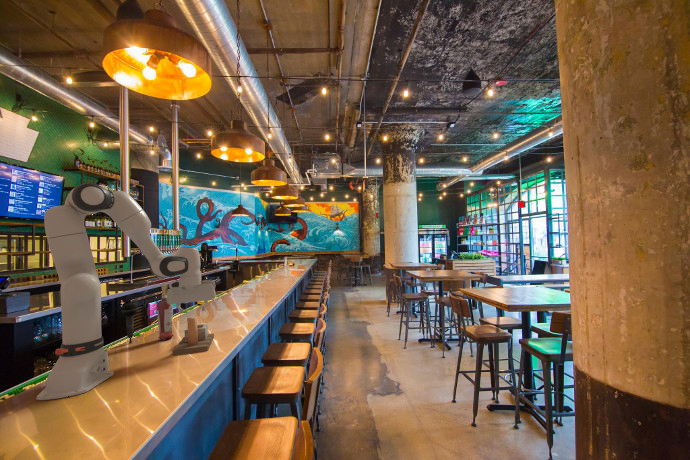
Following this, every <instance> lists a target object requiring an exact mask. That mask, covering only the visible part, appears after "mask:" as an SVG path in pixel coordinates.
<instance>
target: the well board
mask: <svg viewBox="0 0 690 460" xmlns="http://www.w3.org/2000/svg"><path fill="white" fill-rule="evenodd" d="M197 331H198V344H197V345H193V346H188V326H186V328H185V329H184V336H183V337H182V338H181V340H180V341H179V342H178V344H177V345H176V346H175V347H174V349H173V350H172V356H178V355H185V354H193V353H199V352H200V353H201V352H207V351H209V349H210V347H211V345H212V343H213V341H214V339H215V333H214V332H213V333H212V332H211V333H209V324H208V323H203V324H197Z"/></svg>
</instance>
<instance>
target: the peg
mask: <svg viewBox="0 0 690 460" xmlns="http://www.w3.org/2000/svg"><path fill="white" fill-rule="evenodd" d="M186 321H187V327H188V346H193V345H197V344H198V331H197V325H198V317H197V316H191V317H187V318H186Z"/></svg>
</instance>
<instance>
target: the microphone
mask: <svg viewBox="0 0 690 460" xmlns="http://www.w3.org/2000/svg"><path fill="white" fill-rule="evenodd" d="M138 309H139V308H138V306H137V305H136V304H135V303H131V302H129V303H126V304H124V305H123V306H122V308H121V311H120V312H121V313H122V315H123V316H124V317H125V322H126V325H125V326H126V337H127V338H128V339H129V341H128V344H130V343H131V344H132V343H133V341H132V339H133V337H134V322H135V321H134V315H136V313H137V312H138Z"/></svg>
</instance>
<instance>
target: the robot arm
mask: <svg viewBox="0 0 690 460" xmlns="http://www.w3.org/2000/svg"><path fill="white" fill-rule="evenodd" d="M100 212H101V213H104V214H106V215H108V216H109V218H111V219H112V221H113V222H114V224H116V226H117V227H118V228H119V229H120V231H122V232H123V233H124V234H125V235H126V236H127V237H128V238H129V239H130V240H131V241H132V242H133V244H135V246H136V247H137V248H138V249H139V251H140V252H141V253H142V255H143V256H144V257H145V259H146V260H147V262H148V267H149V271H150V273H151V274H152V275H153V276H155V277H157V278H173V277H177V276H179V279H176V280H175V281H172V282H170V283H169V284H168V288H169V289H167V303H168V304H169V305H170V304H173V305H175V306H176V308H177V309H178V312H179V313H178V314H183V313H184V308H182V307H181V304H188V303H197V302H203V303H204V305H203V306H201V311H204V312H205V311H207V309H206V307H207V305H208V303H209V301H214V300H215V299H216V298H217V297H216V296H217V293H216V290H215V289H216V281H215V280H212V279H205V280H202V271H201V256H200V251H199V249H197V247H194V246H181V247H180V248H179V249H177V250H175V251H173V252H172V253H168V254H165V253H163V252H162V251H161V250H160V249H159V247H158V245H157V244H156V243H155V241H154V239H152V236H151V228H152V222H151V220H150V218H149V216H148V214H147V213H146V211H145V210H144V209H143V208H142V206H140V204H139V203H138V202H137V200H135V199H134V198H133V197H132V196H131V195H130V194H129V193H128V192H126V191H125V190H116V191H112V190H109V189H107V188H105V187H104V186H102V185H100V184H96V183H92V182H86V183H81V184H78V185H77V186H76V187H74V188H72V189H71V190H70V191H69V192H68V194H67V195H66V197H65V199H64V201H63V204H62V205H56V206H53V207H50V208H49V209H47V210H46V211H45V212H44V215H43V218H44V220H43V223H44V231H45V236H46V239H47V244H48V247H49V251H50V254H51V258H52V261H53V263H54V267H55V271H56V273H57V275H58V276H57V277H58V279H59V282H60V307H61V308H60V309H61V328H62V331H61V332H62V334H61V335H62V343H61V345H60V348H56V349H55V351H54V352H55V355H56V356H59V357H58V359H57V361H56V363H55V364H54V365H53V367H52V369H51V370H50V371H49V374H48V376H47V377H46V386H45V388H43V390H42V391H41V392H39V393H38V395H36V398H35V399H36V400H37V401H47V400H48V401H49V400H56V399H62V398H67V397H68V396H69V397H73V396H76V395H77V396H78V395H80V394H84V393H87V392H89V391H90V390H92V389H94V388H95V387H97V386H99V385H100V384H101V383H103V382H104V381H106V380H108V379H109V378H110V377H112V376H114V375H115V374H114V373H115V372H114V371H112V370H110V364H109V363H110V361H109V354H108V352H107V351H106V350H105V349H104V337H103V336H102V285H101V281H100V279H99V275H98V271H97V268H96V264H95V260H94V256H93V252H92V249H91V244H90V240H89V237H88V233H87V230H86V227H85V219H86V218H87V217H89V216H91V215H94V214H97V213H100ZM69 397H68V398H69Z"/></svg>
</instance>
